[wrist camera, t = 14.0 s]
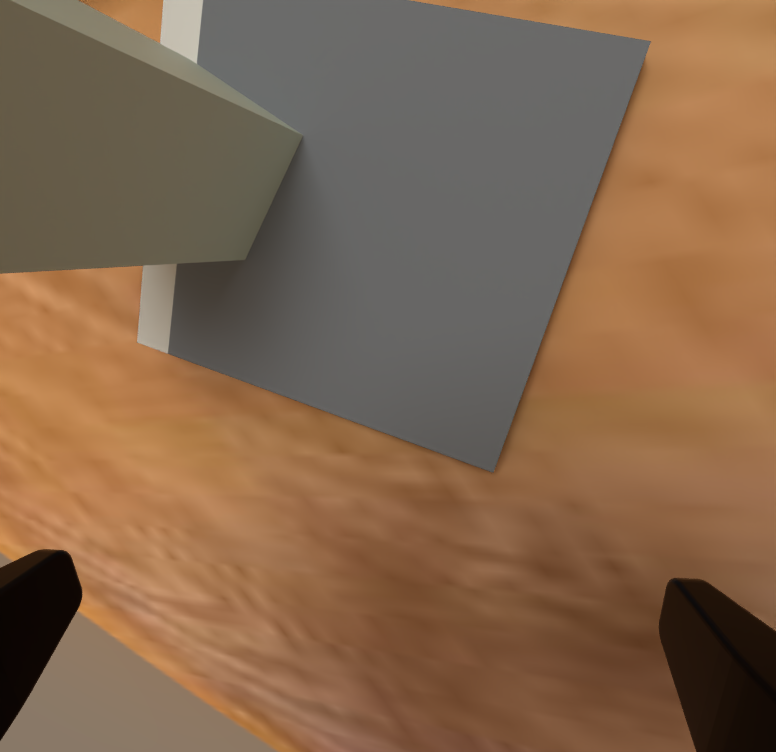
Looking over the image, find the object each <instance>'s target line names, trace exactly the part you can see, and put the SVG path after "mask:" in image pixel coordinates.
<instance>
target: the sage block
mask: <svg viewBox="0 0 776 752" xmlns="http://www.w3.org/2000/svg"><path fill="white" fill-rule="evenodd" d="M302 137H303V135H302V134H301V133H299V132H298V131H296V130H295V129H293V128H292V127H290V126H289V125H287V124H286V123H284V122H283V121H281V120H280V119H278V118H277V117H275V116H274V115H272V114H271V113H269V112H268V111H266V110H265V109H263V108H262V107H260V106H259V105H257V104H256V103H254V102H253V101H251V100H250V99H248V98H247V97H245V96H244V95H243V94H241V93H240V92H238V91H237V90H235V89H234V88H232V87H231V86H229V85H228V84H226V83H225V82H223V81H222V80H220V79H219V78H217V77H216V76H214V75H213V74H211V73H210V72H208V71H207V70H205V69H204V68H202V67H201V66H199V65H198V64H196V63H195V62H193V61H192V60H190V59H188V58H186V57H184V56H182V55H181V54H179V53H177V52H175V51H173V50H171V49H169V48H167V47H165V46H164V45H162V44H160V43H158V42H156V41H154V40H152V39H150V38H148V37H147V36H145V35H143V34H141V33H139V32H137V31H135V30H133V29H131V28H130V27H128V26H126V25H124V24H122V23H120V22H118V21H116V20H114V19H112V18H111V17H109V16H107V15H105V14H103V13H101V12H99V11H97V10H95V9H94V8H92V7H90V6H88V5H86V4H84V3H82V2H80V1H78V0H0V273H18V272H36V271H54V270H73V269H91V268H109V267H127V266H145V265H163V264H181V263H199V262H217V261H235V260H245V259H246V257H247V255H248V253H249V250H250V248H251V246H252V244H253V242H254V240H255V237H256V235H257V233H258V231H259V229H260V227H261V225H262V222H263V220H264V218H265V216H266V214H267V212H268V210H269V207H270V205H271V203H272V201H273V199H274V197H275V195H276V192H277V190H278V188H279V186H280V184H281V182H282V180H283V177H284V175H285V173H286V171H287V169H288V167H289V165H290V162H291V160H292V158H293V156H294V154H295V152H296V149H297V147H298V145H299V143H300V141H301V139H302Z"/></svg>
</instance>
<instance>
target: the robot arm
mask: <svg viewBox="0 0 776 752" xmlns="http://www.w3.org/2000/svg"><path fill="white" fill-rule="evenodd" d="M81 600H82V587H81V584H80V581H79V578H78V575H77V572H76V569H75V566H74V563H73V560H72V558H71V556H70V554H69V553H68V552H67V551H64V550H50V549H43V550H37V551H35V552H33V553H30V554H28V555H26V556H24V557H22V558H20V559H18V560H16V561H14V562H12V563H9V564H7V565H5V566H3V567H1V568H0V740H1V739H2V738H3V736H4V735H5V733H6V732H7V730H8V728H9V727H10V725H11V724H12V722H13V721H14V719H15V718H16V716H17V715H18V713H19V711H20V710H21V708H22V707H23V705H24V703H25V701H26V700H27V698H28V697H29V695H30V693H31V691H32V690H33V688H34V686H35V684H36V683H37V681H38V679H39V677H40V675H41V674H42V672H43V670H44V668H45V667H46V665H47V663H48V661H49V660H50V658H51V656H52V654H53V652H54V650H55V649H56V647H57V645H58V644H59V642H60V640H61V638H62V636H63V635H64V633H65V631H66V629H67V628H68V626H69V624H70V622H71V620H72V618H73V617H74V615H75V613H76V612H77V610H78V608H79V606H80V603H81ZM659 634H660V639H661V643H662V646H663V649H664V652H665V655H666V658H667V662H668V665H669V668H670V671H671V674H672V677H673V680H674V683H675V687H676V690H677V693H678V696H679V699H680V702H681V705H682V709H683V712H684V715H685V718H686V721H687V724H688V727H689V731H690V734H691V737H692V740H693V743H694V746H695V749H696V752H776V631H775V630H773V629H772V628H771V627H769V626H768V625H766V624H765V623H764V622H762V621H761V620H759V619H758V618H757V617H755V616H754V615H752V614H751V613H750V612H748V611H747V610H745V609H744V608H743V607H741V606H740V605H738V604H737V603H736V602H734V601H733V600H732V599H730V598H729V597H727V596H726V595H725V594H723V593H722V592H720V591H719V590H718V589H716V588H715V587H713V586H712V585H711V584H709V583H708V582H706V581H704V580H701V579H689V578H673V579H671V580H670V581H669V582H668V584H667V587H666V591H665V596H664V601H663V606H662V610H661V615H660V620H659Z"/></svg>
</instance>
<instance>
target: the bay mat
mask: <svg viewBox="0 0 776 752" xmlns="http://www.w3.org/2000/svg"><path fill="white" fill-rule="evenodd" d="M650 42H651V41H646V40H640V39H634V38H628V37H622V36H616V35H610V34H604V33H599V32H593V31H587V30H581V29H575V28H569V27H563V26H557V25H551V24H545V23H539V22H533V21H528V20H522V19H516V18H510V17H504V16H498V15H492V14H486V13H480V12H474V11H468V10H462V9H457V8H451V7H445V6H439V5H433V4H427V3H421V2H415V1H409V0H164V1H163V14H162V27H161V40H160V44H162V45H164V46H165V47H167V48H169V49H171V50H173V51H175V52H177V53H179V54H181V55H182V56H184V57H186V58H188V59H190V60H192V61H193V62H195V63H196V64H198V65H199V66H201V67H202V68H204V69H205V70H207V71H208V72H210V73H211V74H213V75H214V76H216V77H217V78H219V79H220V80H222V81H223V82H225V83H226V84H228V85H229V86H231V87H232V88H234V89H235V90H237V91H238V92H240V93H241V94H243V95H244V96H245V97H247V98H248V99H250V100H251V101H253V102H254V103H256V104H257V105H259V106H260V107H262V108H263V109H265V110H266V111H268V112H269V113H271V114H272V115H274V116H275V117H277V118H278V119H280V120H281V121H283V122H284V123H286V124H287V125H289V126H290V127H292V128H293V129H295V130H296V131H298V132H299V133H301V134H302V135H303V137H302V139H301V141H300V143H299V145H298V147H297V149H296V152H295V154H294V156H293V158H292V160H291V162H290V165H289V167H288V169H287V171H286V173H285V175H284V177H283V180H282V182H281V184H280V186H279V188H278V190H277V192H276V195H275V197H274V199H273V201H272V203H271V205H270V207H269V210H268V212H267V214H266V216H265V218H264V220H263V222H262V225H261V227H260V229H259V231H258V233H257V235H256V237H255V240H254V242H253V244H252V246H251V248H250V250H249V253H248V255H247V257H246V259H245V260H235V261H217V262H199V263H181V264H163V265H145V266H143V274H142V287H141V300H140V313H139V326H138V339H137V343H140V344H143V345H146V346H148V347H151V348H154V349H156V350H159V351H162V352H165V353H167V354H170V355H173V356H176V357H178V358H181V359H184V360H187V361H189V362H192V363H195V364H197V365H200V366H203V367H206V368H208V369H211V370H214V371H217V372H219V373H222V374H225V375H228V376H230V377H233V378H236V379H238V380H241V381H244V382H247V383H249V384H252V385H255V386H258V387H260V388H263V389H266V390H269V391H271V392H274V393H277V394H279V395H282V396H285V397H288V398H290V399H293V400H296V401H299V402H301V403H304V404H307V405H310V406H312V407H315V408H318V409H320V410H323V411H326V412H329V413H331V414H334V415H337V416H340V417H342V418H345V419H348V420H351V421H353V422H356V423H359V424H361V425H364V426H367V427H370V428H372V429H375V430H378V431H381V432H383V433H386V434H389V435H392V436H394V437H397V438H400V439H402V440H405V441H408V442H411V443H413V444H416V445H419V446H422V447H424V448H427V449H430V450H433V451H435V452H438V453H441V454H443V455H446V456H449V457H452V458H454V459H457V460H460V461H463V462H465V463H468V464H471V465H474V466H476V467H479V468H482V469H484V470H487V471H490V472H494V469H495V467H496V464H497V461H498V459H499V456H500V453H501V450H502V448H503V445H504V442H505V439H506V437H507V434H508V431H509V428H510V426H511V423H512V420H513V417H514V415H515V412H516V409H517V407H518V404H519V401H520V398H521V396H522V393H523V390H524V387H525V385H526V382H527V379H528V376H529V374H530V371H531V368H532V365H533V363H534V360H535V357H536V354H537V352H538V349H539V346H540V344H541V341H542V338H543V335H544V333H545V330H546V327H547V324H548V322H549V319H550V316H551V313H552V311H553V308H554V305H555V302H556V300H557V297H558V294H559V292H560V289H561V286H562V283H563V281H564V278H565V275H566V272H567V270H568V267H569V264H570V261H571V259H572V256H573V253H574V250H575V248H576V245H577V242H578V240H579V237H580V234H581V231H582V229H583V226H584V223H585V220H586V218H587V215H588V212H589V209H590V207H591V204H592V201H593V198H594V196H595V193H596V190H597V187H598V185H599V182H600V179H601V177H602V174H603V171H604V168H605V166H606V163H607V160H608V157H609V155H610V152H611V149H612V146H613V144H614V141H615V138H616V135H617V133H618V130H619V127H620V125H621V122H622V119H623V116H624V114H625V111H626V108H627V105H628V103H629V100H630V97H631V94H632V92H633V89H634V86H635V83H636V81H637V78H638V75H639V72H640V70H641V67H642V64H643V62H644V59H645V56H646V53H647V51H648V48H649V45H650Z"/></svg>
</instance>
